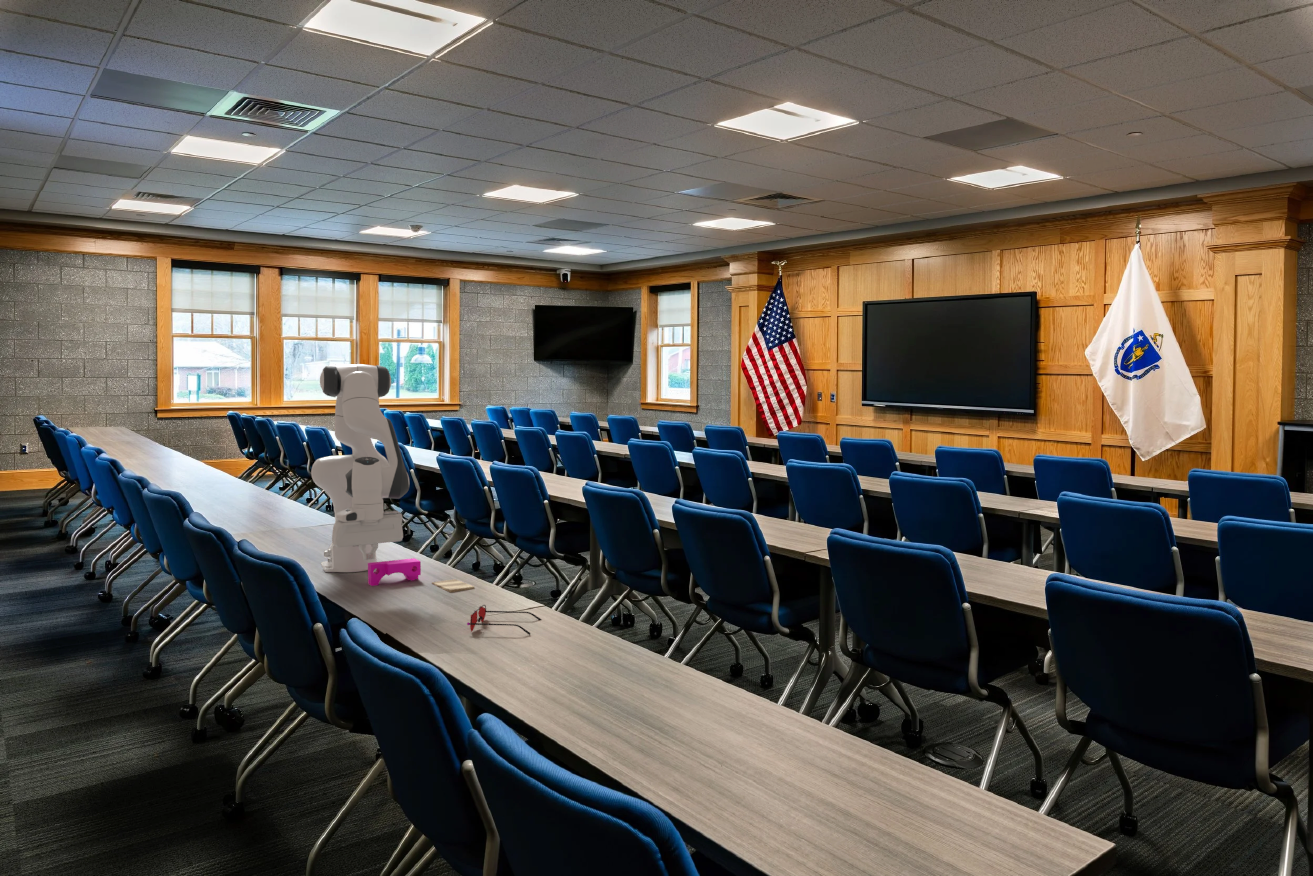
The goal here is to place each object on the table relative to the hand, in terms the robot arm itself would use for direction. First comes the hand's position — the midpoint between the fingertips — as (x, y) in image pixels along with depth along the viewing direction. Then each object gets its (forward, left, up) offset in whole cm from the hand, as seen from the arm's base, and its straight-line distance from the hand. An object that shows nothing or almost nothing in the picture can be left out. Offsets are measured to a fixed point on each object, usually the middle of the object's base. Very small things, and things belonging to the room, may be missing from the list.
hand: (368, 559), depth 263 cm
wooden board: (0, +26, -12) cm, 29 cm away
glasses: (+51, +18, -13) cm, 56 cm away
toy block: (-16, +14, -5) cm, 22 cm away
